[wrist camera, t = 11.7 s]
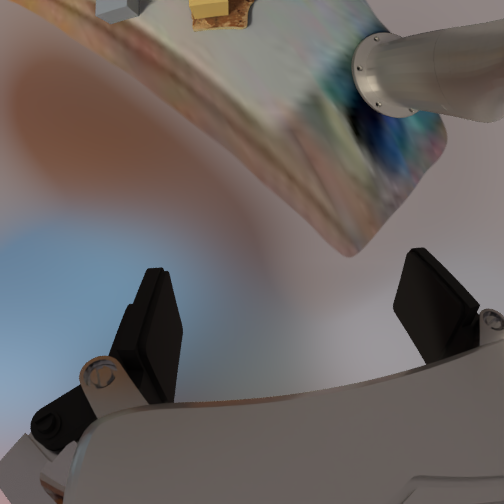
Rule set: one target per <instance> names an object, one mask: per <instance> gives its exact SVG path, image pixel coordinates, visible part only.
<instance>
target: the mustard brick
mask: <svg viewBox="0 0 504 504" xmlns="http://www.w3.org/2000/svg"><path fill="white" fill-rule="evenodd" d="M189 7H190V9H191V11H192V14H193V16H194V19H199V18H207V17H215V16H224V15H228V0H189Z"/></svg>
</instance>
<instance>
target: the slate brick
mask: <svg viewBox="0 0 504 504" xmlns="http://www.w3.org/2000/svg"><path fill="white" fill-rule="evenodd" d="M96 16H97V17H99V18H101V19H102V20H104V21H106V22H108V23H110V24H113V23H116V22H119V21H123V20H126V19H130V18H134V17H138V16H139V0H96Z"/></svg>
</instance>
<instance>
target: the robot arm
mask: <svg viewBox="0 0 504 504" xmlns="http://www.w3.org/2000/svg"><path fill="white" fill-rule="evenodd" d="M374 39H375V40H374ZM357 67H358V68H359V70H357ZM352 75H353V79H354V82H355V85H356V88H357V90H358V91H359V93H360V95H361V96H362V98H363V99H364V100H365V102H366V103H367V104H368V105H369V106H371V107H372V108H373V109H374V110H376V111H377V112H379V113H381V114H383V115H386V116H390V117H396V118H403V117H408V116H411V115H413V114H415V113H416V112H418V111H419V110H422V111H428V112H434V113H439V114H444V115H450V116H454V117H459V118H464V119H468V120H472V121H477V122H483V123H490V122H495V121H498V120H500V119H502V118H503V117H504V19H500V20H496V21H491V22H486V23H480V24H474V25H468V26H461V27H454V28H448V29H442V30H436V31H431V32H426V33H421V34H417V35H412V36H408V37H404V38H402V37H401V36H398V35H395V34H392V33H377V34H373V35H371V36H368V37H366V38H365V39H364V40H362V41H361V42H360V43H359V45H358V46H357V47H356V49H355V52H354V54H353V58H352ZM376 103H377V106H376ZM479 306H480V305H479V303H478V302H477V301H476V300H475V299H474V298H473V297H472V295H471V294H470V293H469V292H468V291H467V290H466V289H465V288H464V287H463V286H462V285H461V284H460V283H459V282H458V280H456V278H455V277H454V276H453V275H452V274H451V273H450V272H449V271H448V270H447V269H446V268H445V267H444V266H443V265H442V264H441V263H440V262H439V261H438V260H437V259H436V258H435V257H434V256H433V255H432V254H430V253H429V252H428V251H427V250H426V249H425V248H413V249H411V250H410V251H409V252H408V253H407V255H406V259H405V263H404V267H403V271H402V275H401V279H400V282H399V286H398V289H397V293H396V297H395V300H394V303H393V309H394V312H395V313H396V315H397V317H398V318H399V320H400V322H401V323H402V325H403V326H404V328H405V330H406V331H407V333H408V334H409V336H410V338H411V339H412V341H413V343H414V344H415V346H416V347H417V349H418V351H419V353H420V354H421V356H422V358H423V359H424V361H425V363H426V365H424V366H421V367H417V368H414V369H411V370H407V371H404V372H400V373H396V374H393V375H389V376H385V377H381V378H377V379H372V380H368V381H364V382H359V383H354V384H350V385H345V386H339V387H334V388H329V389H323V390H317V391H311V392H305V393H298V394H290V395H282V396H273V397H263V398H252V399H240V400H227V401H208V402H182V403H174V396H175V388H176V379H177V372H178V364H179V357H180V349H181V342H182V335H183V328H182V323H181V319H180V315H179V312H178V307H177V304H176V300H175V295H174V291H173V288H172V283H171V279H170V274H169V272H168V271H164V269H163V268H148V269H147V270H146V273H145V275H144V277H143V280H142V282H141V285H140V287H139V290H138V292H137V295H136V297H135V300H134V302H133V304H129V305H128V306H127V308H126V310H125V313H124V315H123V318H122V320H121V323H120V326H119V328H118V331H117V334H116V336H115V339H114V342H113V344H112V347H111V350H110V353H109V356H98V357H96V358H93V359H91V360H90V361H88V362H87V363H86V364H85V365H84V366H83V368H82V369H81V372H80V375H79V380H80V385H79V386H77V387H75V388H74V389H72V390H71V391H69V392H67V393H66V394H64V395H62V396H61V397H59V398H58V399H56V400H54V401H53V402H51V403H49V404H48V405H46V406H45V407H43V408H41V409H40V410H39V411H37V412H36V413H35V415H34V416H33V418H32V421H31V428H30V429H31V433H30V434H29V435H27V434H26V433H25V434H24V435H23V436H22V437H21V438H20V439H19V440H18V442H17V443H16V444H15V445H14V446H13V447H12V448H11V449H10V451H9V452H8V453H7V454H6V455H5V456H4V457H3V458H2V460H1V461H0V489H1V490H2V491H3V493H4V494H5V496H6V497H7V498H8V500H9V501H10V502H11V504H504V316H503V315H502V314H501V313H499V312H498V311H495V310H493V309H484V310H482V311H481V312H480V314H478V313H477V311H478V309H479Z"/></svg>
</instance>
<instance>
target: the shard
mask: <svg viewBox="0 0 504 504" xmlns="http://www.w3.org/2000/svg"><path fill="white" fill-rule="evenodd" d="M253 2H254V0H228V15H224V16H215V17H207V18H199V19H194V16H193V14H192V19H193V29H194V31H195V32H196V31H203V30H214V29H243V28H246V27H247V18H248V10H249V8H250V6H251V5H252V4H253Z"/></svg>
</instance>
